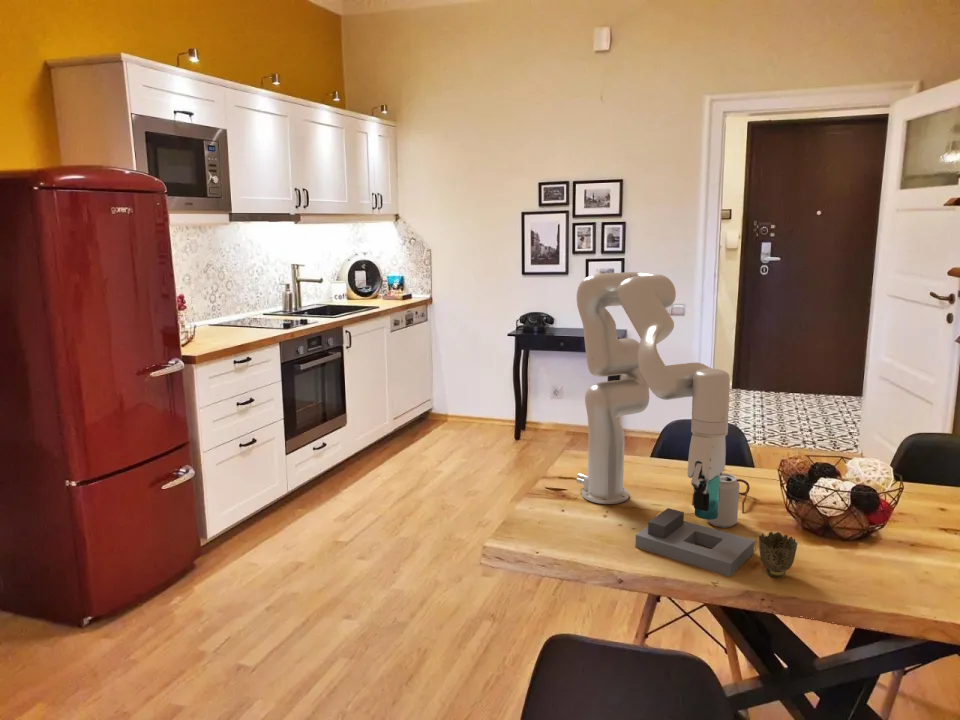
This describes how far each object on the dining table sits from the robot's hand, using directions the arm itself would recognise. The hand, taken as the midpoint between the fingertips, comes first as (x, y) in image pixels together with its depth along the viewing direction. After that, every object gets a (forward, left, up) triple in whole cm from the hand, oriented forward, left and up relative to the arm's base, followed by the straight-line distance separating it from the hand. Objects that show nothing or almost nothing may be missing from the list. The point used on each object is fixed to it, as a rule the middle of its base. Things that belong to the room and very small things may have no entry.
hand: (706, 504), depth 156 cm
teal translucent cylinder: (0, 0, -2) cm, 2 cm away
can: (-3, +18, -12) cm, 22 cm away
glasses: (-9, +32, -12) cm, 35 cm away
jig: (-2, 0, -12) cm, 12 cm away
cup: (+16, 0, -12) cm, 20 cm away
